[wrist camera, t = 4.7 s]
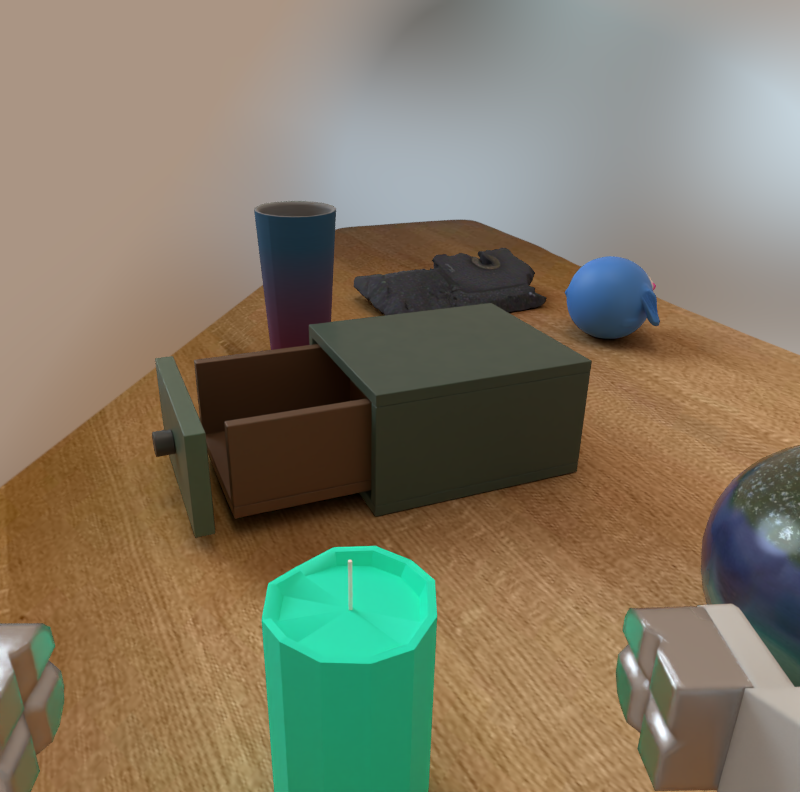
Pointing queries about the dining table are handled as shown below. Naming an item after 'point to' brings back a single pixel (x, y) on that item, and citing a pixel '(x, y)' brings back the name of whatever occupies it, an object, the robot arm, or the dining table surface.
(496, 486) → the cabinet
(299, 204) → the cup
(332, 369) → the drawer
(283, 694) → the candle
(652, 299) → the blue mole toy
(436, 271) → the dark slate chunk
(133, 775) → the dining table surface
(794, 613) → the vase
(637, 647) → the robot arm
